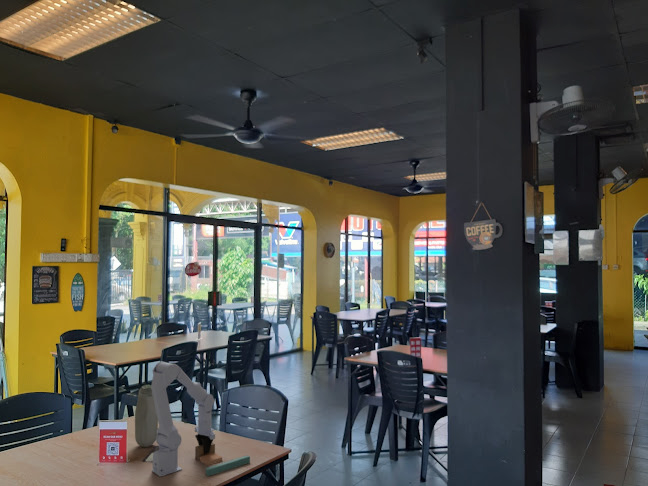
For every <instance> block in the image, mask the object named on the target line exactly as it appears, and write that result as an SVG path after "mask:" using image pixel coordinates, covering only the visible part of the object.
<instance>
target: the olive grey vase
mask: <svg viewBox="0 0 648 486" xmlns="http://www.w3.org/2000/svg"><path fill="white" fill-rule="evenodd" d="M151 385H152V384H145V385H142V386H141V387H140V388H139V389H138V393H137V395H138V396H137V401H136V402H137V403H136V407H135V412H134V437H135V438H134V439H135V442H136V444H137V445H138V446H139V447H141V448H147V447H151V446H152V445H154V443H155V442H157V441H156V437H157V429H158V428H159V423H158V418H157V413H156V408H155V404H154V399H153V394H152V389H151Z"/></svg>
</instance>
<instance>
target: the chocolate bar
mask: <svg viewBox="0 0 648 486" xmlns="http://www.w3.org/2000/svg"><path fill="white" fill-rule="evenodd" d="M159 449H160V448H159V445H154V446H153V447H152V448H151V450H150V451H149V452H148V453H147V455H146V456H145V457H144V458H143V459H142V460H141V462H142V463H147V462H148V463H153V453H154V452H156V451H158V450H159Z"/></svg>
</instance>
